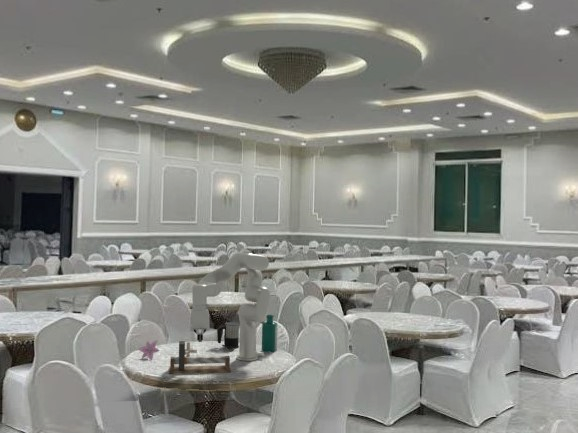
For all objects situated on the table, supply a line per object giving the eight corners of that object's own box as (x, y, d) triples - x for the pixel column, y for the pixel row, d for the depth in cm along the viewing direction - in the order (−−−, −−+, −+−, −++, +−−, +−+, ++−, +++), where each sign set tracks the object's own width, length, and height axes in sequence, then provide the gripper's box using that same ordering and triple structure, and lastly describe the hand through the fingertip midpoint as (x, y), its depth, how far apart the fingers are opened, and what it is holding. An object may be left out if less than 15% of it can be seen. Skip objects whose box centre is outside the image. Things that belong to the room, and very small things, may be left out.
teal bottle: (277, 349, 380) (278, 314, 380) (274, 352, 372) (275, 316, 372) (262, 348, 382) (263, 313, 382) (258, 351, 374) (259, 315, 374)
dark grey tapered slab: (184, 366, 328) (184, 341, 328) (184, 370, 321) (184, 344, 321) (178, 366, 328) (179, 341, 328) (178, 370, 320) (179, 344, 320)
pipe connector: (193, 362, 343) (193, 344, 343) (176, 361, 345) (176, 343, 345) (199, 358, 353) (199, 341, 353) (182, 357, 355) (183, 339, 355)
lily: (136, 358, 354) (134, 345, 349) (153, 347, 361) (151, 335, 357) (148, 368, 347) (146, 355, 342) (165, 357, 354) (163, 344, 349)
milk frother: (235, 344, 391) (235, 321, 391) (246, 350, 377) (246, 325, 377) (214, 346, 383) (215, 323, 383) (225, 352, 370) (225, 327, 370)
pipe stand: (229, 367, 334) (229, 353, 334) (230, 372, 324) (231, 358, 324) (169, 368, 329) (169, 354, 329) (169, 373, 318) (169, 359, 318)
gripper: (213, 305, 331) (213, 339, 332) (185, 306, 328) (185, 340, 329) (214, 308, 324) (214, 342, 324) (185, 309, 321) (185, 344, 322)
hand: (200, 341), depth 327 cm, fingers closed
